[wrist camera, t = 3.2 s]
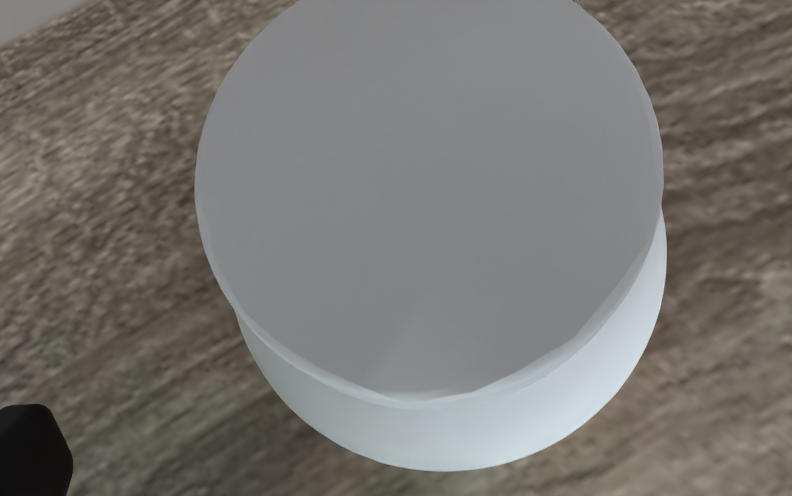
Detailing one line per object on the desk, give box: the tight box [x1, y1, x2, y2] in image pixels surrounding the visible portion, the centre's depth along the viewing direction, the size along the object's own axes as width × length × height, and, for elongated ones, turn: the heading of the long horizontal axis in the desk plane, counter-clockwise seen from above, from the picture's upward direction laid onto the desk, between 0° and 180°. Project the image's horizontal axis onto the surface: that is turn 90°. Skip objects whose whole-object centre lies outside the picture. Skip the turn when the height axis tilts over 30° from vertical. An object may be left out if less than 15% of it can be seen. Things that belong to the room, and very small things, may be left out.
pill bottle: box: [194, 0, 667, 472], centre depth 12 cm, size 6×6×11 cm
